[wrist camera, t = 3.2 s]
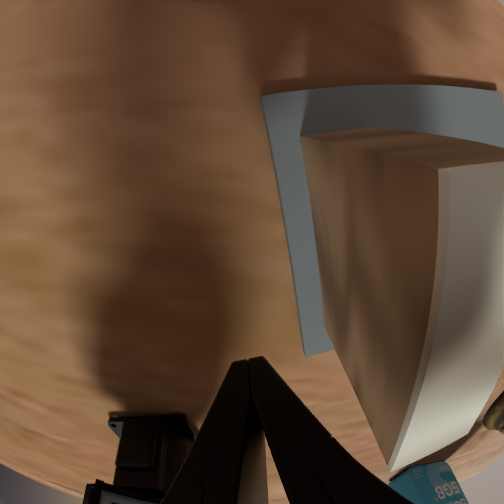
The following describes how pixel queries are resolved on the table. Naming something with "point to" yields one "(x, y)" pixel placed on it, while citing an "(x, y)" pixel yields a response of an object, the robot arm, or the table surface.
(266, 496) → the robot arm
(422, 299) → the slab
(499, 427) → the owl figurine
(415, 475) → the data package
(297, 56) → the table surface
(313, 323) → the mat
